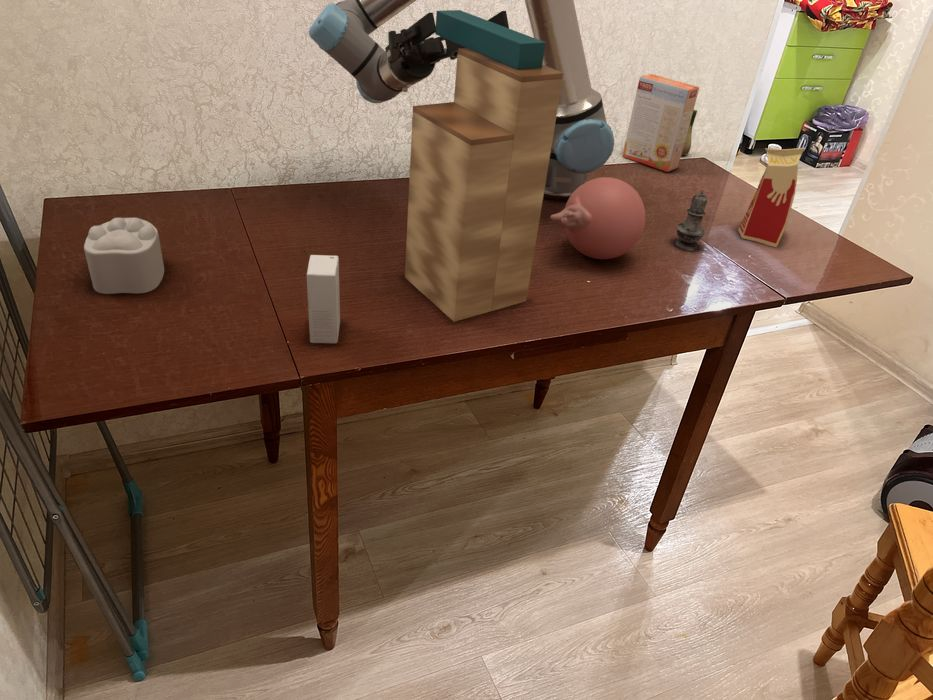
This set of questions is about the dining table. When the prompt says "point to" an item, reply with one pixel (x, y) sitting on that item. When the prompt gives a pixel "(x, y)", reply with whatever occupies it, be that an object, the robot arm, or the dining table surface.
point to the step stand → (480, 185)
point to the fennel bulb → (689, 135)
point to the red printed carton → (772, 198)
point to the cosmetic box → (323, 298)
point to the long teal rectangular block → (490, 39)
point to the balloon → (603, 218)
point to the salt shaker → (692, 224)
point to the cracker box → (660, 122)
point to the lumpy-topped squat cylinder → (124, 256)
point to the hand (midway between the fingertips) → (470, 20)
